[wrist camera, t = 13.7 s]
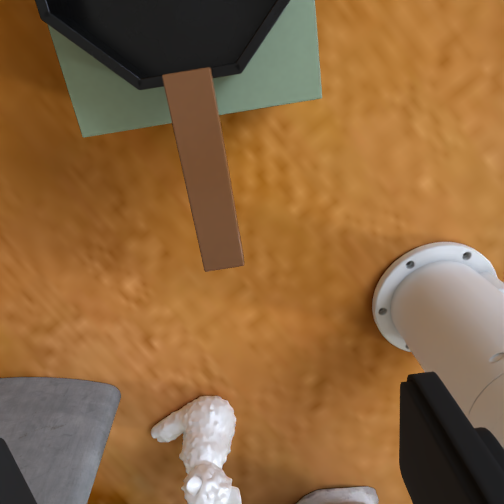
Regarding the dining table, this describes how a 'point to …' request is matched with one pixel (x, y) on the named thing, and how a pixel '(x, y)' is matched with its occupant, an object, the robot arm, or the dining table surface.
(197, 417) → the sitting furry creature
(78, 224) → the dining table surface
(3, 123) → the dining table surface
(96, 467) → the hip flask
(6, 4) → the dining table surface
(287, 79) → the sage green box
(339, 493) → the ceramic pitcher
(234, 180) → the dining table surface
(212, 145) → the pan
